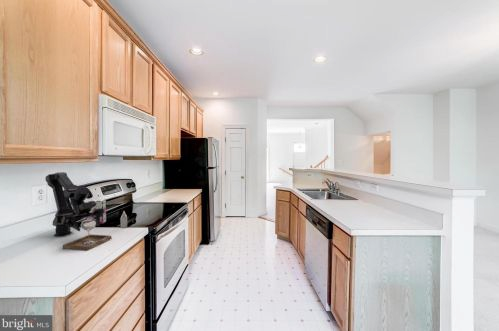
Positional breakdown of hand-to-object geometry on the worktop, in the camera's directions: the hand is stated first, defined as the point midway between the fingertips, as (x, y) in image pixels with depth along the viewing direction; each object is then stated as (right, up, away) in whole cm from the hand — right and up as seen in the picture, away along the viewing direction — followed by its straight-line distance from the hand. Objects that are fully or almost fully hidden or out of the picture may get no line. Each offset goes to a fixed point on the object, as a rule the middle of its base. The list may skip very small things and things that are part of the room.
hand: (89, 228), depth 116 cm
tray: (-1, -9, +1) cm, 9 cm away
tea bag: (0, -8, +32) cm, 33 cm away
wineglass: (-1, -8, +1) cm, 8 cm away
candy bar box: (-24, -8, +39) cm, 47 cm away
